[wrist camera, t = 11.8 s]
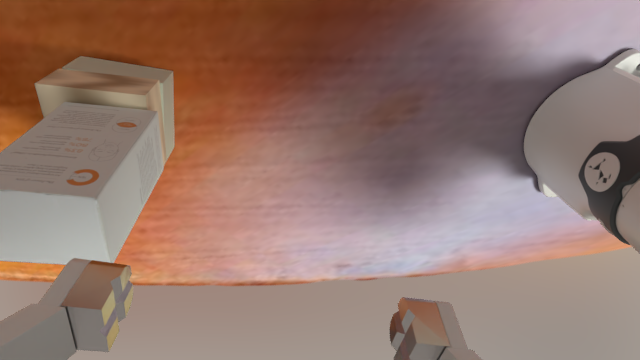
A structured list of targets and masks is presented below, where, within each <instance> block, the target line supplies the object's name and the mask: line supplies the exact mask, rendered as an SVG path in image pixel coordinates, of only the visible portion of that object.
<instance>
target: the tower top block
mask: <svg viewBox="0 0 640 360" xmlns="http://www.w3.org/2000/svg"><path fill="white" fill-rule="evenodd" d="M35 87H36V91H37V95H38V98H39V102H40V106H41V109H42V113H43V117H44V118H45V117H46V116H47V115H49V114H50V113H51V112H52V111H54V110H55V109H56V108H57V107H59V106H60V105H61V104H62V103H64V102H71V103H82V104H92V105H102V106H112V107H121V108H131V109H141V110H150V111H157V112H158V118H159V128H160V137H161V147H162V157H163V166H164V165H165V163H166V161H167V158H166V147H165V136H164V126H163V115H162V104H161V93H160V82H159V80H157V79H148V78H139V77H130V76H121V75H112V74H103V73H94V72H85V71H76V70H67V69H57V70H56V71H54V72H52V73H51V74H49V75H47V76H46V77H44V78H43V79H41V80H39V81H38V82H36V83H35Z"/></svg>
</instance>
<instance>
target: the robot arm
mask: <svg viewBox="0 0 640 360" xmlns="http://www.w3.org/2000/svg"><path fill="white" fill-rule="evenodd" d="M639 64H640V51H638V50H636V49H630V50H627V51H625V52H623V53H621V54H620V55H618V56H617V57H616V58H614V59H613V60H611V61H610V62H609V63H608V64H606V65H605V66H604V67H602V68H600V69H597V70H595V71H592V72H590V73H587V74H584V75H582V76H580V77H577V78H575V79H573V80H572V81H570V82H568V83H566V84H565V85H563V86H562V87H560V88H559V89H558V90H556V91H555V92H554V93H553V94H552V95H551V96H549V97H548V98H547V99H546V100H545V101H544V103H543V104H542V105H541V106H540V107H539V109H538V110H537V111H536V113H535V114H534V116H533V118H532V119H531V121H530V123H529V125H528V128H527V131H526V134H525V138H524V154H525V158H526V160H527V162H528V164H529V166H530V167H531V168H532V169H533V171H534V172H535V173H536V175H537V177H538V186H539V190H540V191H541V192H542V193H543V194H544V195H545V196H547V197H559V198H561V199H562V200H563V201H564V202H565V203H566V204H567V205H569V206H570V207H571V208H572V209H573V210H574V211H575V212H577V213H578V214H579V215H580V216H581V217H583V218H584V219H586V220H589V221H590V220H598V221H599V222H600V224H601V225H602V226H603V227H604V228H605V229H606V230H607V231H608V232H609V233H611V234H612V235H614V236H615V237H617V238H618V239H619V240H620V241H622V242H624V243H626V244H628V245H631V246H632V247H633V248H635V250H636V251H638V253H639V254H640V65H639ZM638 65H639V66H638ZM637 66H638V67H637ZM636 67H637V68H636ZM131 274H132V273H131V267H130V266H128V265H123V264H116V263H109V262H102V261H95V260H86V259H79V258H73V259H72V260H70V261H69V262H68V263H67V264H66V266H65V267H64V268H63V270H62V271H61V273H60V274H59V275H58V277H57V278H56V280H55V281H54V282H53V284H52V285H51V286H50V288H49V289H48V291H47V292H46V294H45V295H44V296H43V298H42V299H41V300H40V302H39V303H38V304H30V305H29V306H27V307H25V308H23V309H21V310H20V311H18V312H16V313H15V314H13V315H11V316H9V317H7V318H5V319H4V320H2V321H0V360H67V359H68V358H69V357H71V356H72V355H73V354H74V353H75V352H76V350H88V351H103V352H109V351H110V349H111V347H112V345H113V343H114V341H115V339H116V337H117V334H118V333H119V325H118V322H120V321H121V320H122V319H124V318H125V317H126V316H127V313H128V311H129V309H130V306H131V302H132V299H133V284H132V283H131V282H130V281H129V278H130V276H131ZM398 309H399V311H398V312H397V313H395V314H394V315H393V317H392V319H391V324H390V341H391V345H392V346H393V347H394V349H395V350H396V351H397V352H396V354H395V356H394V360H482V359H481V358H480V357H479V356H478V355H477V354H476V353H475V352H474V351H473V350H469V349H468V348H467V345H466V342H465V340H464V337H463V334H462V332H461V329H460V326H459V323H458V321H457V318H456V315H455V312H454V310H453V307H452V305H451V304H450V303H449V302H439V301H432V300H424V299H415V298H405V297H403V298H402V299H400V301H399V303H398Z"/></svg>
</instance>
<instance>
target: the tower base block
mask: <svg viewBox="0 0 640 360" xmlns="http://www.w3.org/2000/svg"><path fill="white" fill-rule="evenodd" d="M62 69H67V70H76V71H85V72H94V73H103V74H112V75H121V76H130V77H139V78H148V79H157V80H159V82H160V93H161V104H162V115H163V126H164V136H165V147H166V158H167V159H168V157H169V156H170V154H171V152H172V150H173V148H174V147H175V144H174V83H173V71H171V70H165V69H159V68H152V67H146V66H140V65H134V64H128V63H122V62H115V61H109V60H103V59H97V58H91V57H85V56H80V57H78V58H76V59H75V60H73V61H71V62H70V63H68V64H67V65H65V66H63V67H62Z"/></svg>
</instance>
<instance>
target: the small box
mask: <svg viewBox="0 0 640 360" xmlns="http://www.w3.org/2000/svg"><path fill="white" fill-rule="evenodd" d="M163 169H164V166H163V157H162V147H161V137H160V128H159V118H158V112H157V111H150V110H141V109H131V108H121V107H112V106H102V105H92V104H82V103H71V102H64V103H62V104H61V105H60V106H59V107H57V108H56V109H55V110H54V111H52V112H51V113H50V114H49V115H47V116H46V117H45V118H44V119H42V120H41V121H40V122H39V123H37V124H36V125H35V126H34V127H32V128H31V129H30V130H28V131H27V132H26V133H25V134H23V135H22V136H21V137H20V138H18V139H17V140H16V141H14V142H13V143H12V144H11V145H9V146H8V147H7V148H6V149H4V150H3V151H2V152H1V153H0V261H11V262H28V263H45V264H61V265H66V264H67V263H68V262H69V261H70V260H72V259H73V258H79V259H86V260H95V261H102V262H109V263H114V261H115V259H116V258H117V256H118V254H119V252H120V250H121V248H122V246H123V244H124V242H125V241H126V239H127V237H128V235H129V233H130V231H131V230H132V228H133V226H134V224H135V222H136V220H137V218H138V216H139V214H140V213H141V211H142V209H143V207H144V205H145V203H146V202H147V200H148V198H149V196H150V194H151V192H152V190H153V188H154V186H155V185H156V183H157V181H158V179H159V177H160V175H161V173H162V172H163Z"/></svg>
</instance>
